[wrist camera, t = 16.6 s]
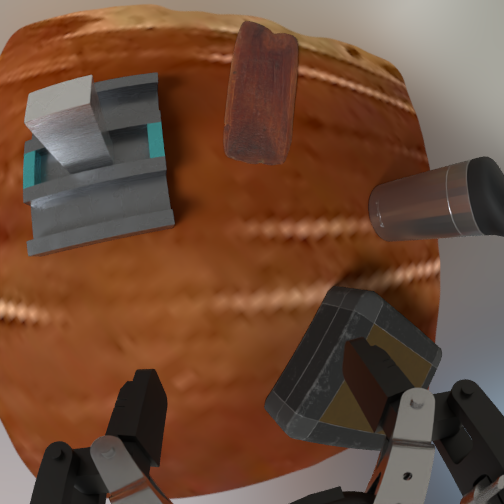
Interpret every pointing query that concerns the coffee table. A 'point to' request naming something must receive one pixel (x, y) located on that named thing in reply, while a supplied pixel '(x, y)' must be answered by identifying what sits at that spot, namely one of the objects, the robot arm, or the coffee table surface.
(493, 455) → the robot arm
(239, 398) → the coffee table surface
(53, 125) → the panel
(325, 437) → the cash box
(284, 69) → the wooden tablet
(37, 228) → the rack
